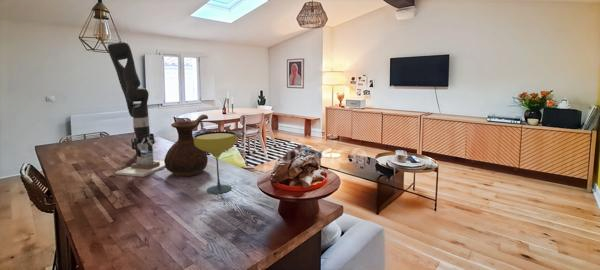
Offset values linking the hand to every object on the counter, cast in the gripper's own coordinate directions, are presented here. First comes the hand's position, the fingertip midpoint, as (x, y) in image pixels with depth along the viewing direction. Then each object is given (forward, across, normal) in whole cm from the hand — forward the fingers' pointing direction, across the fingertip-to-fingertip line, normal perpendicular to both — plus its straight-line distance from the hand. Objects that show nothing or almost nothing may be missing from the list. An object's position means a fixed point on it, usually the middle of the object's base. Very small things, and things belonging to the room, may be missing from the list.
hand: (144, 154), depth 178 cm
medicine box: (+7, 0, 0) cm, 7 cm away
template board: (+8, 0, 0) cm, 8 cm away
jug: (+8, +2, +28) cm, 29 cm away
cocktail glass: (+8, +20, +57) cm, 61 cm away
